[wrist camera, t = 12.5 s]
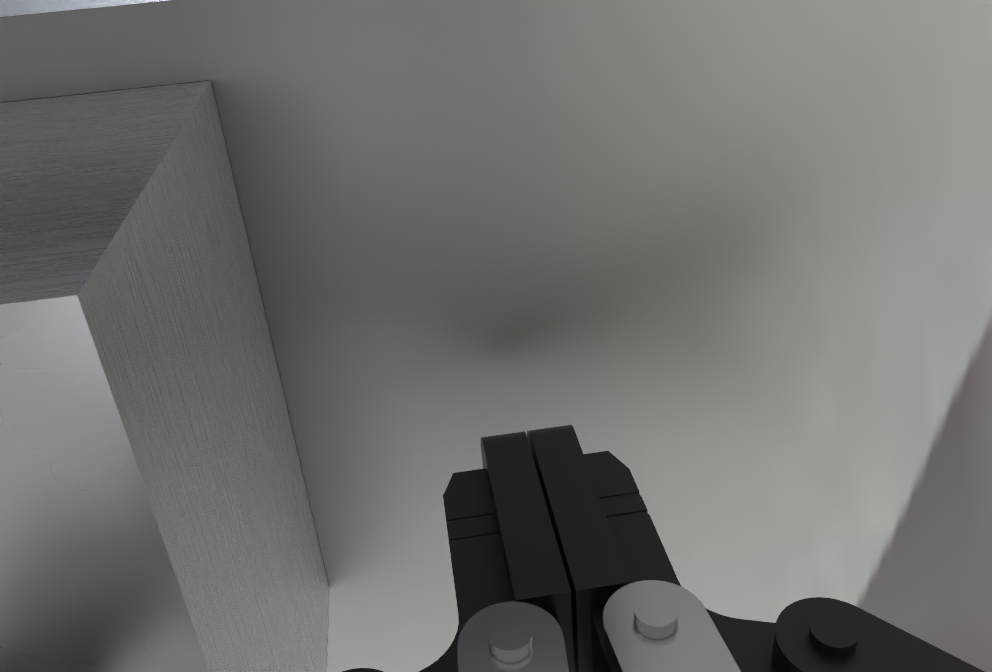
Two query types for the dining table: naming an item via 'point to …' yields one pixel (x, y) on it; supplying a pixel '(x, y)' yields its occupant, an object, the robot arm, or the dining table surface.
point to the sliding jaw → (142, 403)
